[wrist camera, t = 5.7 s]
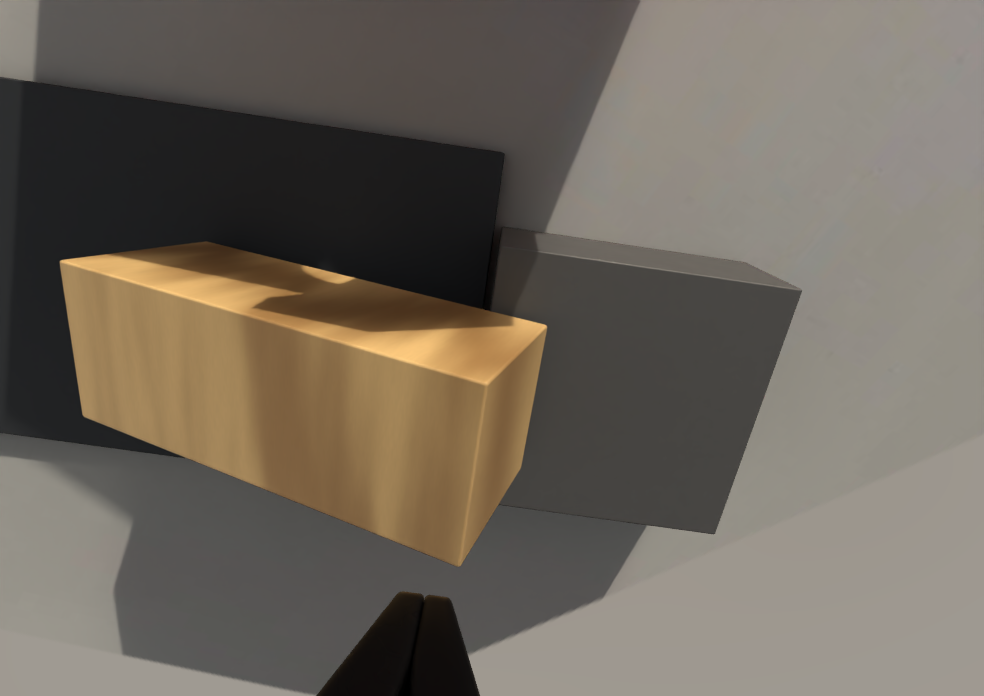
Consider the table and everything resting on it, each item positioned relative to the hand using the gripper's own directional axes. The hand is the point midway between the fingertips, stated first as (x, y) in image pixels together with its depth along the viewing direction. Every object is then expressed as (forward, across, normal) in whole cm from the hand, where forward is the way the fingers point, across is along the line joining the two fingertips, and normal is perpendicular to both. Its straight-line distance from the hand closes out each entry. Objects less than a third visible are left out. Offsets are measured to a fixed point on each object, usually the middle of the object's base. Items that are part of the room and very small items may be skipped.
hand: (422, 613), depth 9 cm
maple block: (+6, -1, 0) cm, 6 cm away
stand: (+13, -5, 0) cm, 14 cm away
